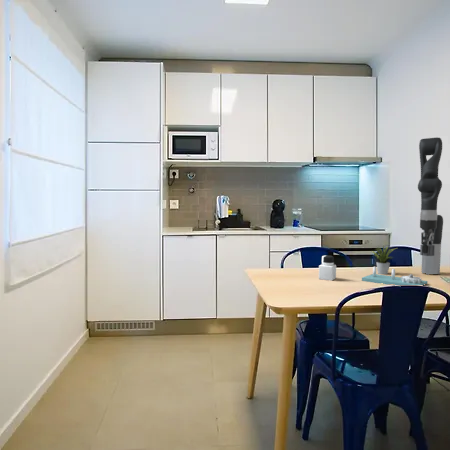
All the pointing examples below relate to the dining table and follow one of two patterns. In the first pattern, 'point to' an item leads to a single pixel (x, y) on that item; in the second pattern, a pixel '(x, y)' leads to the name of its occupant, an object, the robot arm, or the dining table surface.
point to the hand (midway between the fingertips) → (427, 252)
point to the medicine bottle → (327, 268)
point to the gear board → (394, 279)
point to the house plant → (383, 260)
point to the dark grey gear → (430, 250)
